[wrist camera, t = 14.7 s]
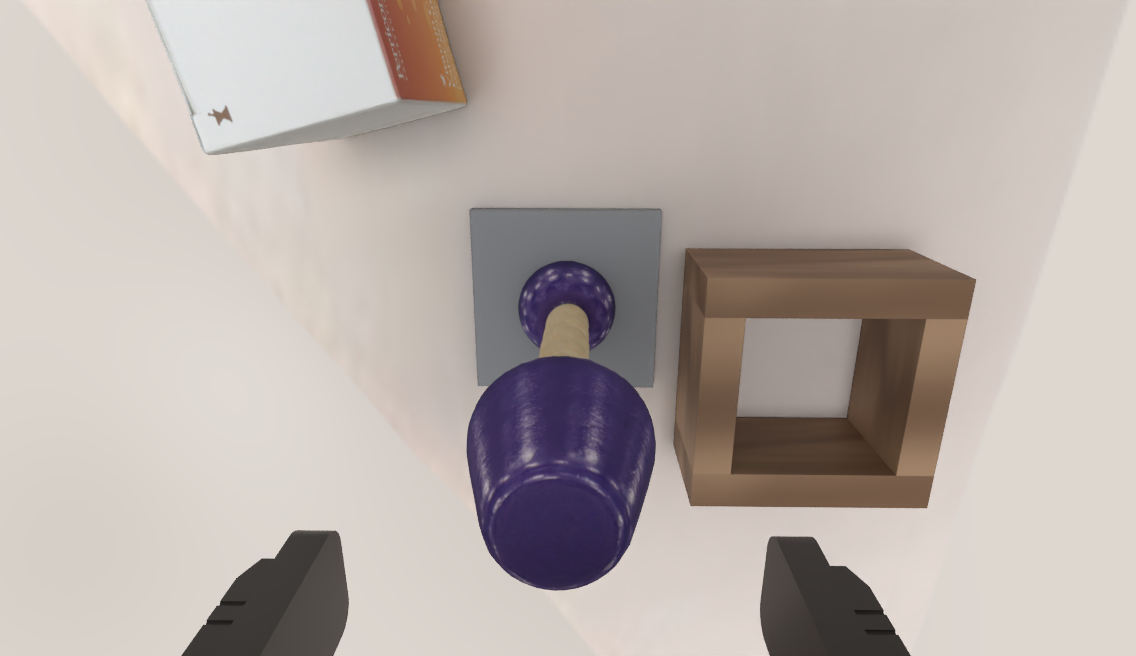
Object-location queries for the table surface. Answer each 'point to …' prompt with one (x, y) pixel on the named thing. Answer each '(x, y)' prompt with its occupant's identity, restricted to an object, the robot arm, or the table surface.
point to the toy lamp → (561, 441)
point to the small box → (305, 67)
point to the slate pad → (542, 236)
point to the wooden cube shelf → (879, 392)
